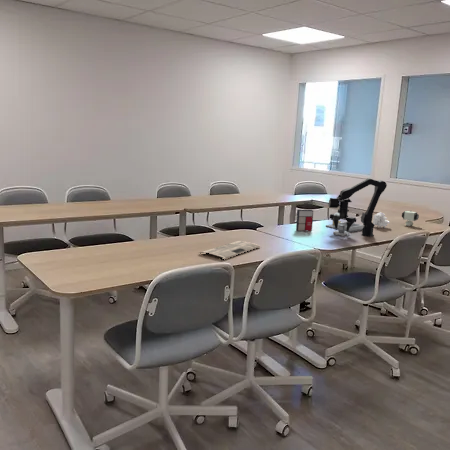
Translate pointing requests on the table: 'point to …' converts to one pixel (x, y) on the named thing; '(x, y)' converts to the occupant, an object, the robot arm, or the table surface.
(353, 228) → the carrier plate
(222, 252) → the newspaper
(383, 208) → the table surface
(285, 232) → the table surface
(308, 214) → the grey and red box
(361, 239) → the table surface
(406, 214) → the pneumatic valve
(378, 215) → the white lumpy lump
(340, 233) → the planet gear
